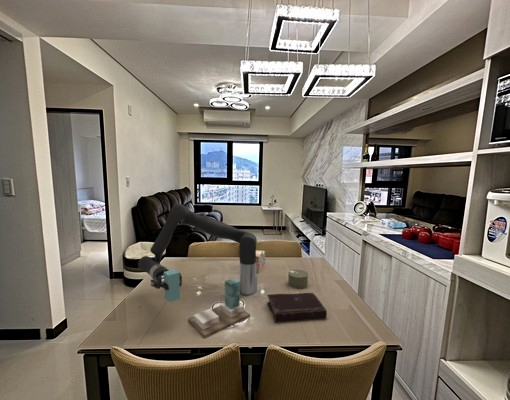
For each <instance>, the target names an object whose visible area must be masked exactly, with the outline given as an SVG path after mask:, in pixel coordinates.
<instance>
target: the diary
mask: <svg viewBox="0 0 510 400" xmlns="http://www.w3.org/2000/svg"><path fill="white" fill-rule="evenodd" d="M266 296H267V298H268V302H266V304H267V306H268V309H269V312H272V314H273V317H274V323H280V322H291V321H293V322H295V321H306V320H307V321H308V320H319V319H327V314H328V313H327V309H326V308H325V306H324V305H323V304H322V302H321V301H320V299H319V298H318V297H317V296H316V295H315V293H314V292H300V293H273V294H271V293H270V294H266Z"/></svg>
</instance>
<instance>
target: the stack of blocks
mask: <svg viewBox="0 0 510 400" xmlns="http://www.w3.org/2000/svg"><path fill="white" fill-rule="evenodd" d="M264 262H265V263H266V251H265V250H257V249H256V274H257V275H259V274H260V272H261V271H262V269H263V267H264V265H265V263H264ZM262 266H263V267H262Z"/></svg>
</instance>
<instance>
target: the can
mask: <svg viewBox="0 0 510 400" xmlns="http://www.w3.org/2000/svg"><path fill="white" fill-rule="evenodd" d="M287 274H288V279H287V280H288V281H287V282H288V283H287V284H288V286H289V287H291V288H295V289H305V288H307V287H308V282H309V281H308V277H309V273H308V272H307V271H305V270H301V269H292V270H291V269H290V270H288V272H287Z"/></svg>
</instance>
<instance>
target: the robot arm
mask: <svg viewBox="0 0 510 400" xmlns="http://www.w3.org/2000/svg"><path fill="white" fill-rule="evenodd" d="M180 223H182V224H185V225H189V226H192V227H195V229H198V230H199V231H201V232H204V233H205V234H207V235H210V236H212V237H215V238H219V239H225V240H231V241H234V242H235V243H238V244H239V245H238V248H239V249H238V251H239V253H238V256H239V281H240V293H241V294H242V295H244V296H245V295H247V296H249V295H253V294H255V293H256V291H258V273H256V250H257V242H258V240H257V236H256V235H255V234H253V232H249V231H245V230H242V229H238V228H236V227H234V226H232V225H229V224H227V223H225V222H223V221H221V220H218V219H216V218H213V217H210V216H206V215H202V214H198V213H196V212H194V211H192V210H190V209H188V208H187V207H186V206H185V205H184V204H182V203H177V204H174V205H173V206H171V209H170V210H169V213H168V216H167V218H166V220H165V222H164V224H163V226H162V229H161V231H160V232H159V234H158V236H157V237H156V239H155V241H154V242H153V244H152V246H151V247H150V253H152V254H153V255H154V258H153V257H150V256H147V255H144V256H141V257H140V258H139V260H138V263H137V265H138V268H139V269H140V270H141V271H143V272H144V273H146V274H148V275H149V276H150V278H151V280H150V286H151V287H153V288H154V289H157V290H159V289H163V290H164V289H165V290H169V286H168V284H166V283H165V282H164V272H166V271H169V270H170V269H168V268H167V267H166V266H164V265H163V264H161V261H162V259H163V255H164V253H165V252H166V250H167V247H168V246H169V244H170V242H171V239H172V237H173V235H174V234H173V233H174V232H175V230H176V228H177V226H178V225H179V224H180ZM179 276H180V287H182V285H183V279H182V278H183V276H182V274H181V272H179Z"/></svg>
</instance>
